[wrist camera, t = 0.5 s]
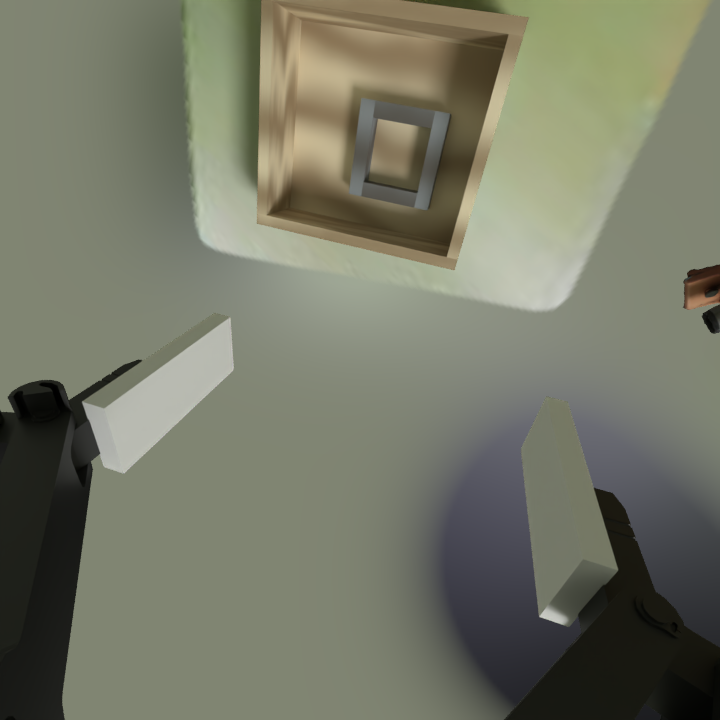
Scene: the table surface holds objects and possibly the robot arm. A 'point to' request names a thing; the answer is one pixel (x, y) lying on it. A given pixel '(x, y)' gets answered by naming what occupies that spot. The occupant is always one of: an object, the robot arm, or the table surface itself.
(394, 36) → the walled box
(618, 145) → the table surface
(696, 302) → the electronic device
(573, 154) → the table surface
